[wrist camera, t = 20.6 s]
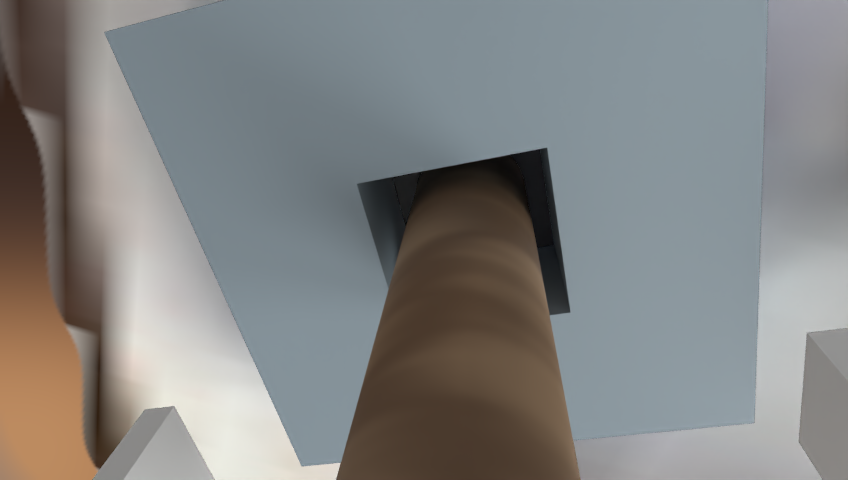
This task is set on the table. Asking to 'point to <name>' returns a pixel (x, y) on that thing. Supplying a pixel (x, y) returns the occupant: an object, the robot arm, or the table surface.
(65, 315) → the table surface
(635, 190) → the socket block
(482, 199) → the walnut peg
